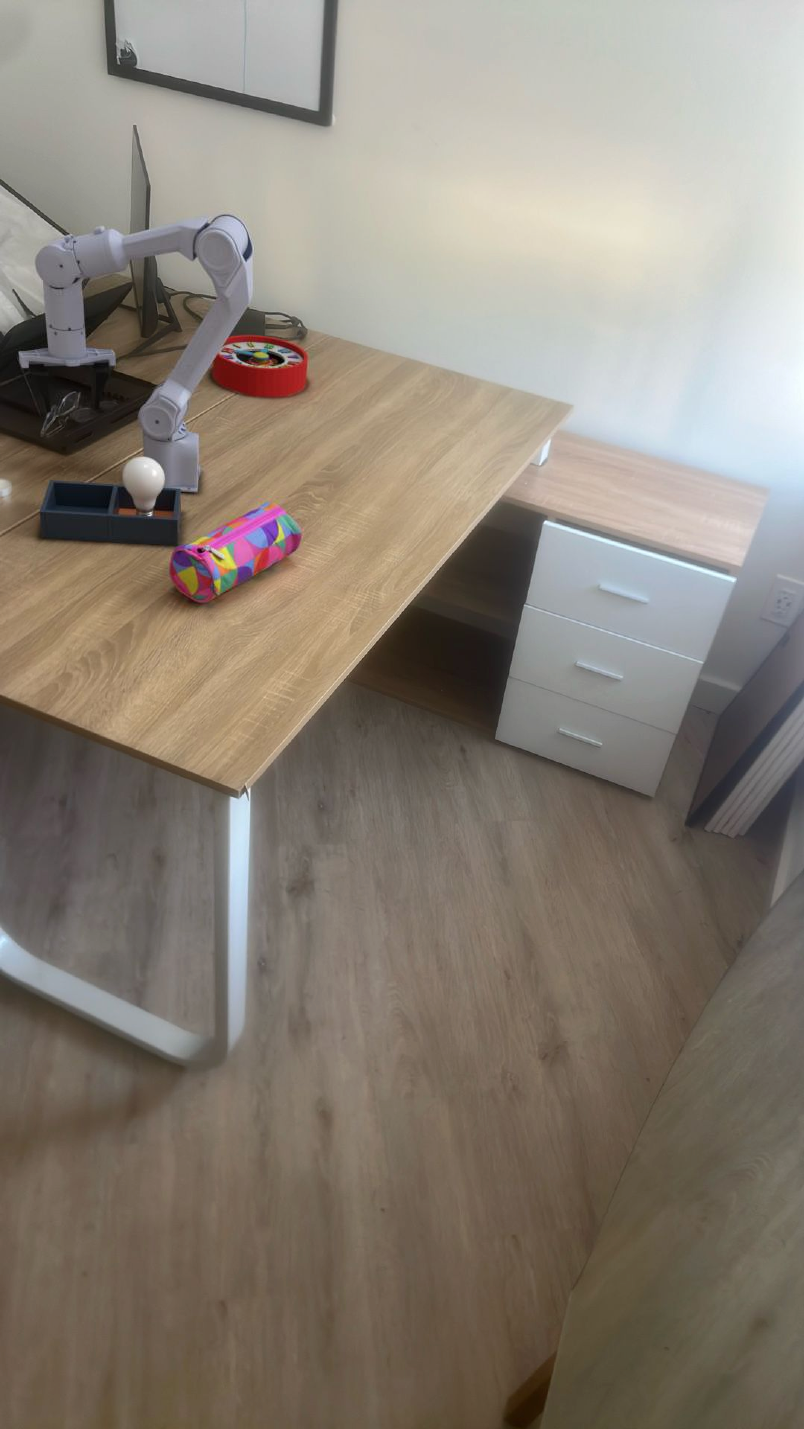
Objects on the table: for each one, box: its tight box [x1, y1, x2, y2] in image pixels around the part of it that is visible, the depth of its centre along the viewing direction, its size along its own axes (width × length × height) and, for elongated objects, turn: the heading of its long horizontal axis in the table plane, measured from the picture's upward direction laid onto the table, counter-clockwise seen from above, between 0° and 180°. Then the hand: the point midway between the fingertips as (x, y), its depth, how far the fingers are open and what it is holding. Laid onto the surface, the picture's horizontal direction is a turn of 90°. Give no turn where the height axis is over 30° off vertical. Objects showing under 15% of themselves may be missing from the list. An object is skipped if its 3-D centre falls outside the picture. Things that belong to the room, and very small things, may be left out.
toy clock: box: [212, 334, 309, 398], centre depth 203 cm, size 20×6×20 cm
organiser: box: [39, 479, 182, 547], centre depth 148 cm, size 20×10×4 cm, turn 98°
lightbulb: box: [121, 456, 165, 517], centre depth 147 cm, size 6×6×11 cm
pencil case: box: [168, 501, 302, 604], centre depth 140 cm, size 22×9×9 cm, turn 148°
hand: (71, 408), depth 156 cm, fingers open, 7 cm apart
